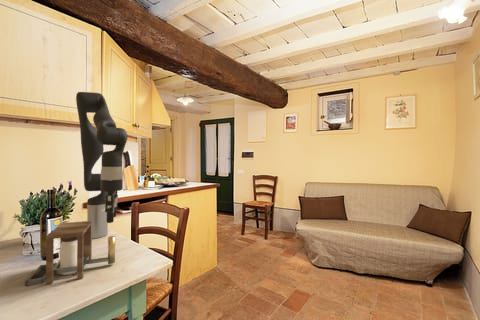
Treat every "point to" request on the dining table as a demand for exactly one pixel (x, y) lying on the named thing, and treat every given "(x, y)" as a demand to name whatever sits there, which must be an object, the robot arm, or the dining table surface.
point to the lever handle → (86, 259)
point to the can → (68, 254)
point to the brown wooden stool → (83, 245)
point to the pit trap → (38, 276)
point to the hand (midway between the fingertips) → (111, 219)
